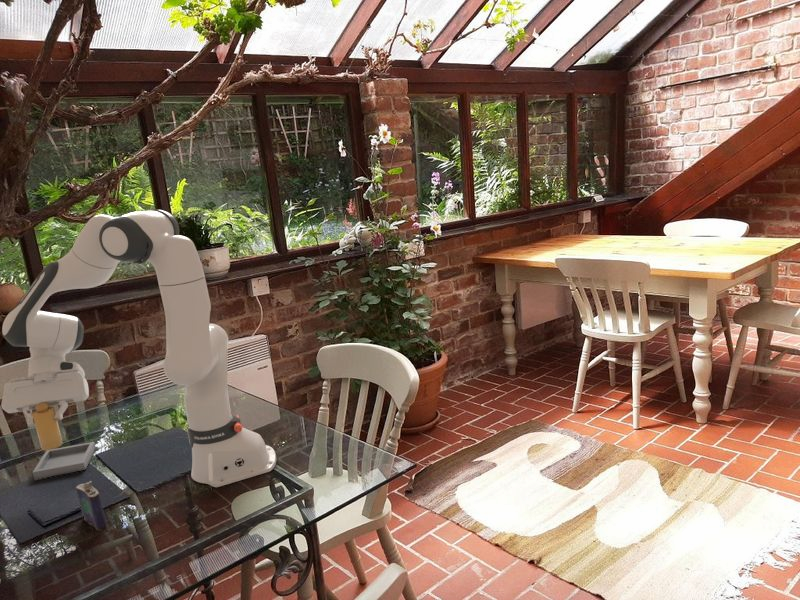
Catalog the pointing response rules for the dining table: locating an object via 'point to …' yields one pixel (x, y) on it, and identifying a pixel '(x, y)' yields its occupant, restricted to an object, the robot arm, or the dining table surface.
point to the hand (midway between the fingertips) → (44, 421)
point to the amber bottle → (47, 427)
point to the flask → (91, 506)
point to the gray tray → (64, 460)
